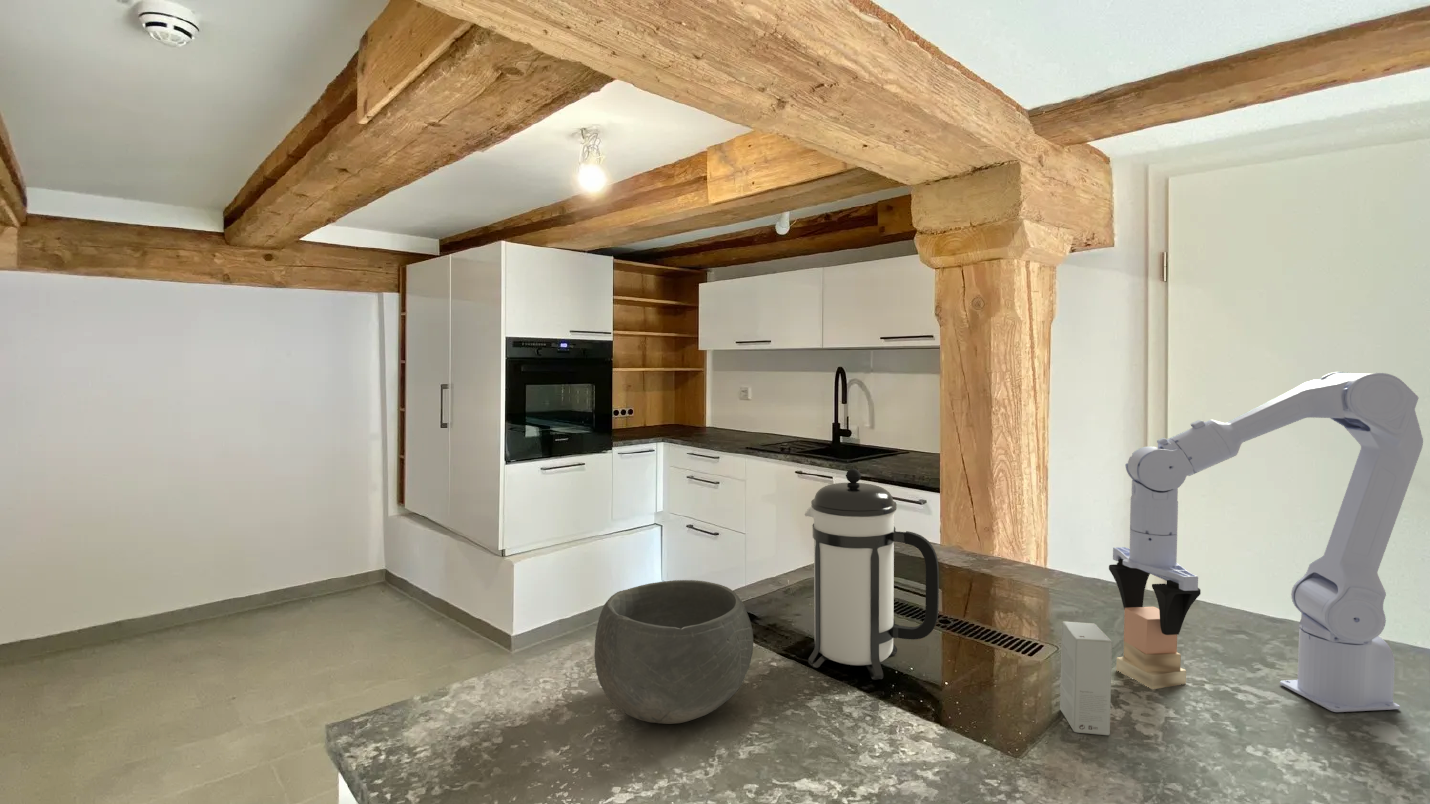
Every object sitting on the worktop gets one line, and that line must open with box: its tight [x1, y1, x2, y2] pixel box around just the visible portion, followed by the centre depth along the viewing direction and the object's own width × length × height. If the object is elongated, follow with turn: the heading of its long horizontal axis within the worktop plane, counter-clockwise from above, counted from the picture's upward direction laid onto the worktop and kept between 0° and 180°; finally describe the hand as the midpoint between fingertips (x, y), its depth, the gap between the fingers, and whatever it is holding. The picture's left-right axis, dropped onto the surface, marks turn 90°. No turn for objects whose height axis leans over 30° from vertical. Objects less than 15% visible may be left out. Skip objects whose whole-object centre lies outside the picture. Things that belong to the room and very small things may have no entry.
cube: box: [1123, 606, 1178, 654], centre depth 97 cm, size 5×5×5 cm
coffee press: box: [804, 468, 940, 681], centre depth 103 cm, size 17×16×30 cm
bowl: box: [594, 579, 754, 725], centre depth 90 cm, size 21×21×15 cm
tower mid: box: [1123, 640, 1182, 672], centre depth 97 cm, size 5×5×2 cm
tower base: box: [1115, 656, 1187, 690], centre depth 97 cm, size 6×6×2 cm
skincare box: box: [1059, 620, 1113, 736], centre depth 85 cm, size 6×4×12 cm
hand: (1150, 623), depth 97 cm, fingers open, 7 cm apart
